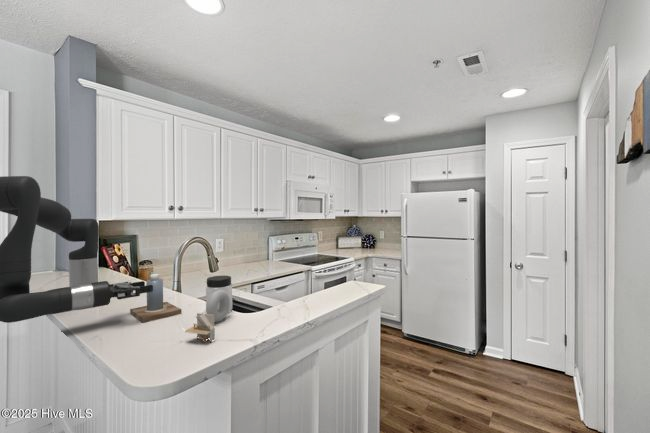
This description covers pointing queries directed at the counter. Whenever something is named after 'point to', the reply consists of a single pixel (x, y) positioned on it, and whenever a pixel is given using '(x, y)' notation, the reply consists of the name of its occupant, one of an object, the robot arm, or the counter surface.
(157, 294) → the bottle
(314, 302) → the counter surface
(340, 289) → the counter surface
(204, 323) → the architectural model
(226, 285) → the jar
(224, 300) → the donut
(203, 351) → the counter surface
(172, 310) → the walnut board
